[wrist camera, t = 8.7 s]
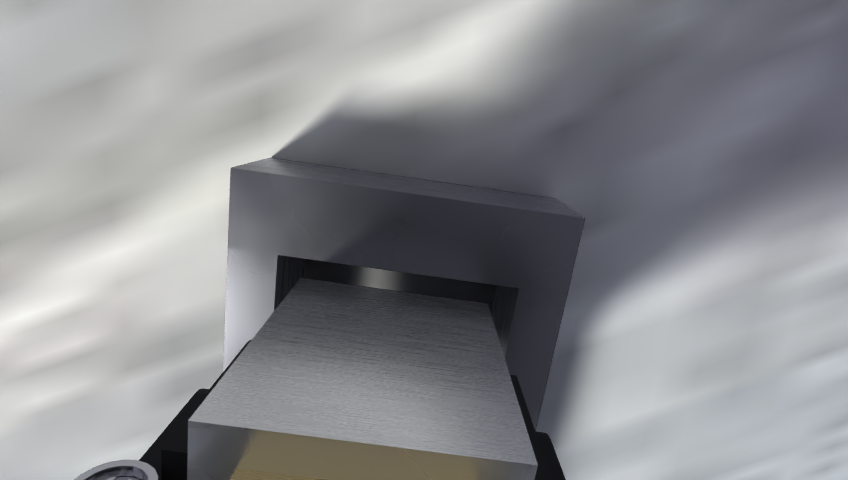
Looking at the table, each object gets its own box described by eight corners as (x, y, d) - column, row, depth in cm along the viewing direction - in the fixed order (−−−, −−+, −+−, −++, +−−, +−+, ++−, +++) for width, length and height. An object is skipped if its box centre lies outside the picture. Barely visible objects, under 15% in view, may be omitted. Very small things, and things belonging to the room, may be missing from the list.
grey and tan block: (487, 303, 13) (555, 523, 6) (457, 460, 14) (485, 790, 7) (300, 277, 12) (146, 472, 6) (287, 438, 14) (150, 755, 7)
